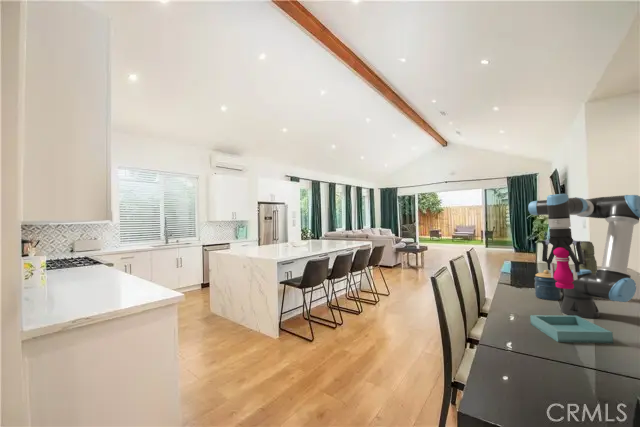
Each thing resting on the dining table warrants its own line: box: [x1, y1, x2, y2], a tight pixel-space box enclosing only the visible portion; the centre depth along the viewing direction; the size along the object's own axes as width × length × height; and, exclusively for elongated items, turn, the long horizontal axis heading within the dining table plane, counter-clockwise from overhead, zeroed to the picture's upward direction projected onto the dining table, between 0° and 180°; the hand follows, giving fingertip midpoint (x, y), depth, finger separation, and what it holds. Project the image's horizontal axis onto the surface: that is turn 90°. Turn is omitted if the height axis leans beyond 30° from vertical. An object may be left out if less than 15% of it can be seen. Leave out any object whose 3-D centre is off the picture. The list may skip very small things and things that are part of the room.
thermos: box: [577, 240, 600, 301], centre depth 173 cm, size 9×12×35 cm
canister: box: [533, 269, 562, 301], centre depth 177 cm, size 13×13×18 cm
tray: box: [529, 314, 614, 344], centre depth 125 cm, size 20×20×4 cm
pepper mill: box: [553, 247, 574, 290], centre depth 126 cm, size 7×7×20 cm
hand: (564, 278), depth 125 cm, fingers closed on pepper mill, 7 cm apart
